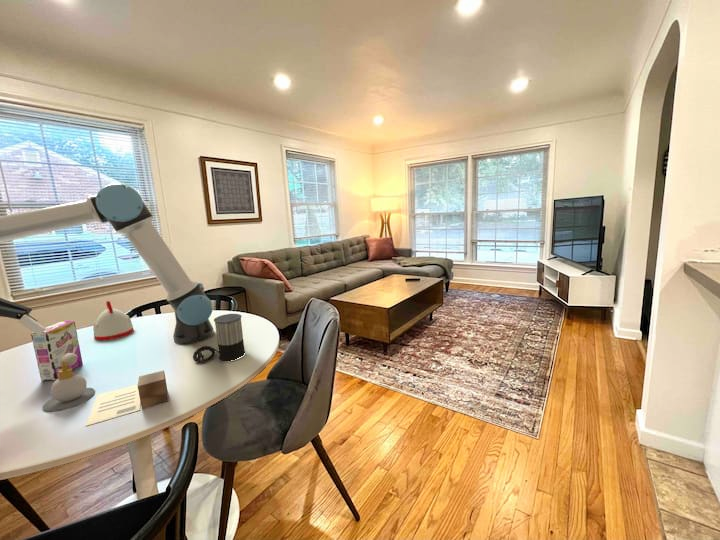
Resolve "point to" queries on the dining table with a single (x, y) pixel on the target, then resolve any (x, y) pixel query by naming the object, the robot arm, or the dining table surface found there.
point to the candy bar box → (56, 348)
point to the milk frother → (225, 339)
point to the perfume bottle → (68, 381)
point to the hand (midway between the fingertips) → (19, 341)
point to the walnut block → (152, 389)
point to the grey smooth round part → (67, 402)
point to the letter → (115, 404)
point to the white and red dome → (112, 324)
